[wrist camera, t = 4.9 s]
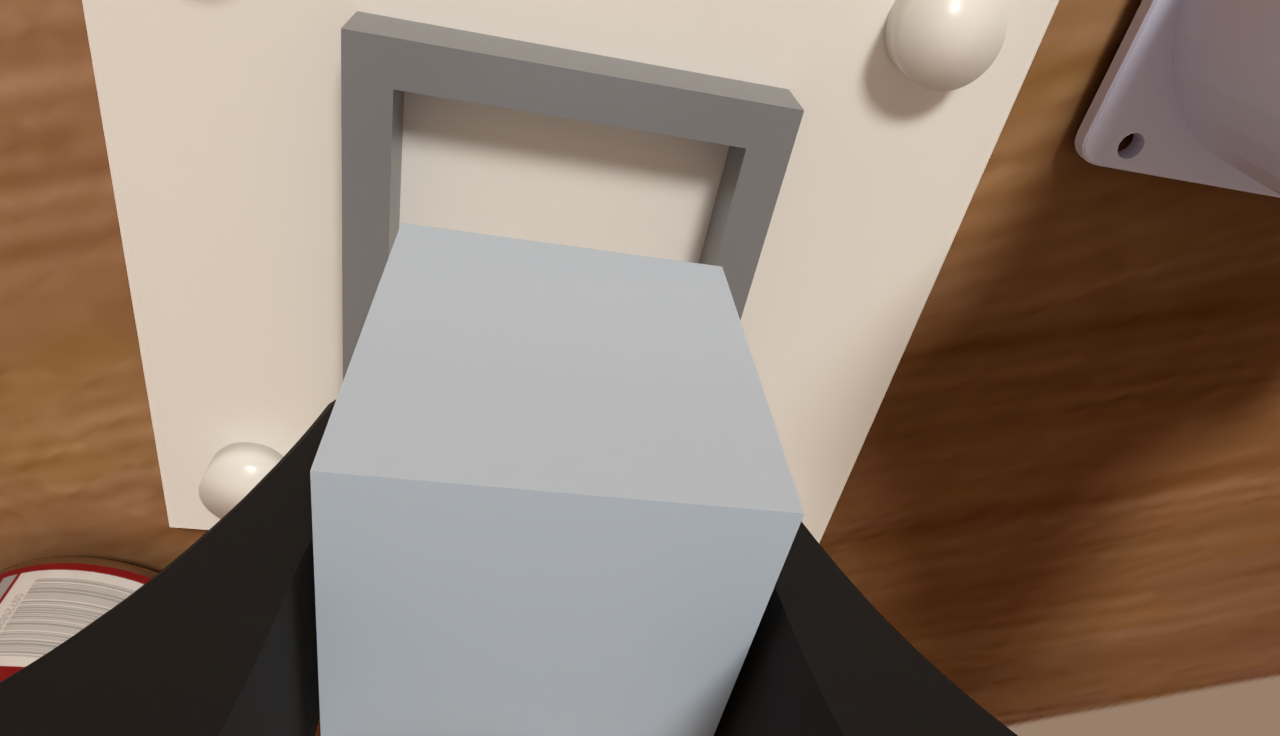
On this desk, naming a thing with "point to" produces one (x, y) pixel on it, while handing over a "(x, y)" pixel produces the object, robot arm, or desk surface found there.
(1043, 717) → the desk surface
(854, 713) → the robot arm
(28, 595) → the soda can
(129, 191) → the baseplate
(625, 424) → the light grey block
